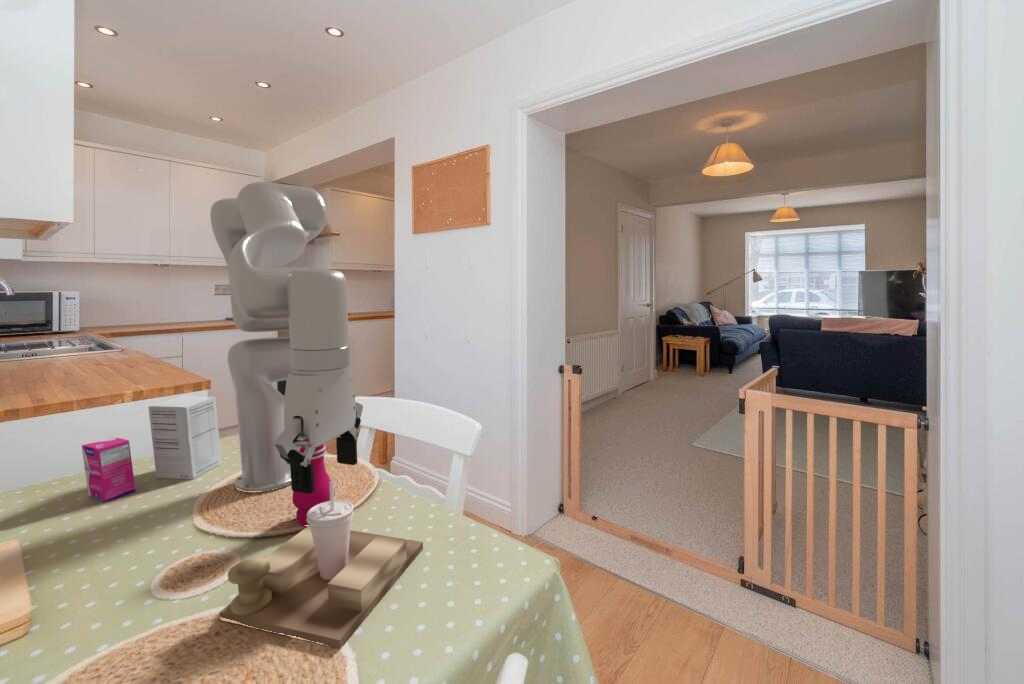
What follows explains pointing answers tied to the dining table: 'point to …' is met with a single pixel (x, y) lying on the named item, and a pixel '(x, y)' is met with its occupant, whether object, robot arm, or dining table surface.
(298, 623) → the notched board
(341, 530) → the smoothie
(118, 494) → the supplement box
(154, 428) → the supplement box
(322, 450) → the pepper mill
